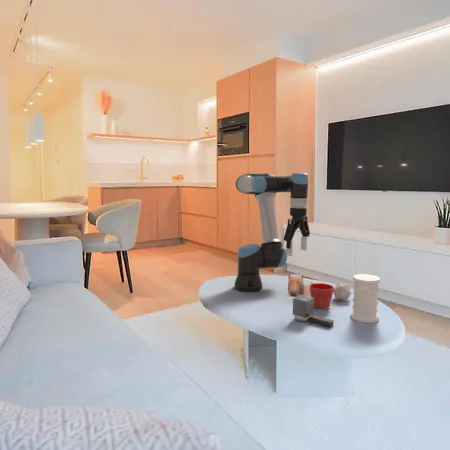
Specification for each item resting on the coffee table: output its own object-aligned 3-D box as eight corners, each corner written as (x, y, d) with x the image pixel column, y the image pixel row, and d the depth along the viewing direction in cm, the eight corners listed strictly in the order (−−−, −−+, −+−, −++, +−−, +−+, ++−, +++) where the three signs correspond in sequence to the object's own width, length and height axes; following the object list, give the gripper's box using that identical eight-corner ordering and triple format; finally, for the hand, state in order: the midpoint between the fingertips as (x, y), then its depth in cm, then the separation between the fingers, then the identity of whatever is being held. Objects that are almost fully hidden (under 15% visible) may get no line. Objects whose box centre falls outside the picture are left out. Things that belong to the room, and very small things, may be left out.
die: (342, 305, 185) (354, 289, 185) (327, 293, 189) (339, 278, 189) (344, 305, 192) (356, 290, 192) (330, 294, 196) (341, 279, 196)
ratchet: (291, 319, 165) (291, 305, 164) (299, 315, 171) (299, 301, 170) (328, 329, 155) (328, 314, 154) (335, 324, 160) (335, 309, 160)
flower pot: (317, 300, 189) (317, 281, 188) (337, 306, 182) (338, 286, 180) (304, 306, 182) (305, 285, 181) (325, 312, 174) (326, 291, 173)
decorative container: (376, 325, 160) (379, 282, 157) (347, 319, 165) (349, 278, 163) (380, 315, 170) (382, 276, 167) (353, 311, 175) (355, 272, 173)
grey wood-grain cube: (292, 314, 165) (293, 298, 164) (299, 310, 170) (300, 294, 169) (306, 317, 161) (306, 301, 160) (313, 313, 166) (313, 297, 165)
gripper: (291, 210, 164) (289, 259, 168) (318, 205, 183) (316, 249, 187) (276, 209, 169) (275, 256, 172) (304, 204, 188) (302, 246, 191)
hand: (296, 252), depth 180 cm, fingers open, 13 cm apart
